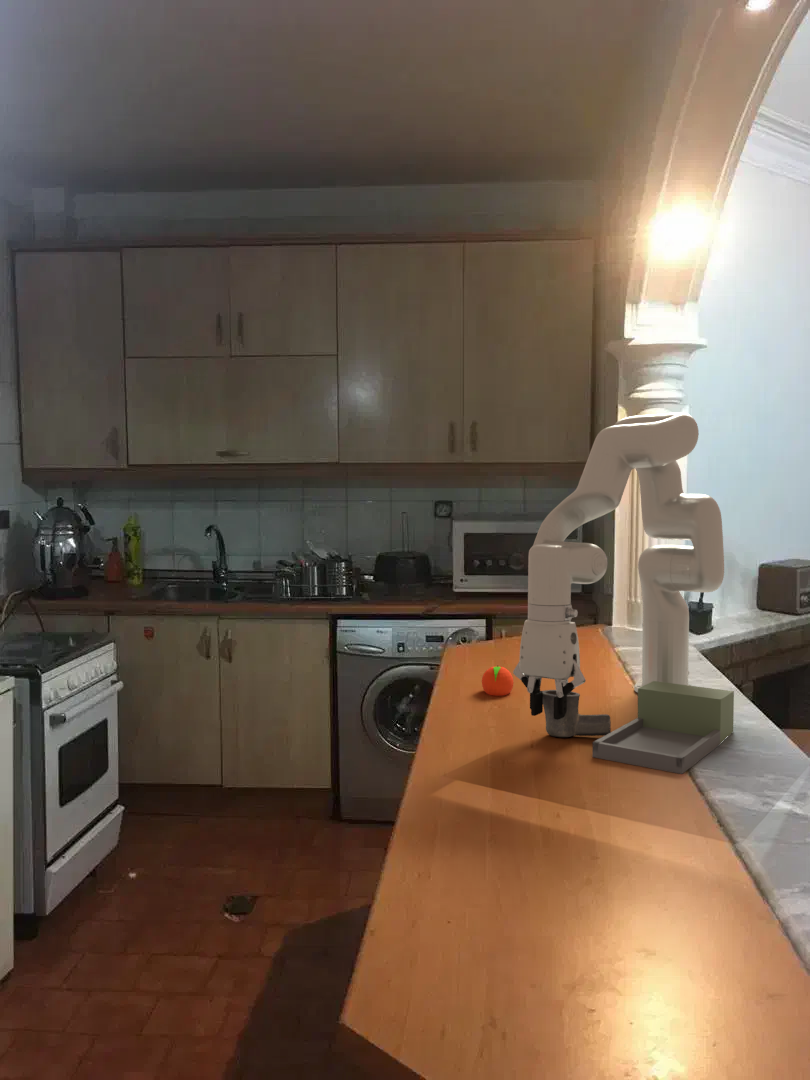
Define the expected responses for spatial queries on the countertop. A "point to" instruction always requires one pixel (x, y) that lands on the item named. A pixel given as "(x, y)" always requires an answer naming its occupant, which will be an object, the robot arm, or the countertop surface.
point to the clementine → (497, 681)
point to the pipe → (573, 718)
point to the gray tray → (670, 727)
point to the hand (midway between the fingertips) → (548, 715)
